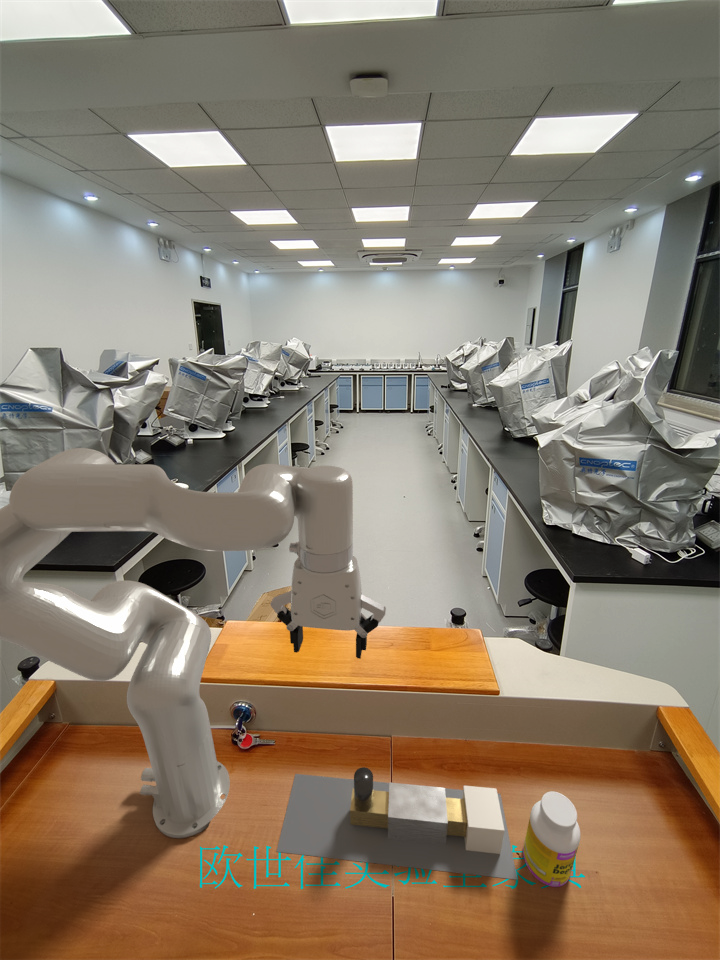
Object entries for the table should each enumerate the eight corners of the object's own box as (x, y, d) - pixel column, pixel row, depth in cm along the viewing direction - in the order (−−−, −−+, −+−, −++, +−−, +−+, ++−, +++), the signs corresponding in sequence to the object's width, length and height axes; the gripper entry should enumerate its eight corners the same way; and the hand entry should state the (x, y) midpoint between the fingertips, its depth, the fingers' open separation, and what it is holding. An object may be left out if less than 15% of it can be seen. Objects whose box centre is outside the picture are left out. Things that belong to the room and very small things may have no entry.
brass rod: (350, 824, 68) (349, 786, 65) (353, 801, 71) (352, 764, 68) (491, 839, 66) (497, 801, 62) (487, 815, 69) (492, 778, 66)
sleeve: (387, 838, 67) (388, 817, 65) (389, 803, 71) (389, 782, 70) (445, 844, 66) (447, 823, 64) (443, 808, 71) (444, 787, 69)
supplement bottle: (548, 902, 60) (562, 845, 56) (512, 853, 66) (523, 798, 61) (579, 875, 63) (595, 818, 58) (543, 830, 68) (555, 776, 64)
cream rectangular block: (465, 850, 65) (468, 826, 63) (461, 808, 71) (463, 785, 69) (500, 853, 65) (504, 830, 63) (493, 811, 70) (496, 788, 68)
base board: (277, 856, 66) (276, 851, 65) (295, 778, 77) (295, 773, 76) (516, 884, 62) (517, 879, 62) (499, 798, 73) (500, 793, 73)
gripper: (258, 562, 57) (267, 661, 63) (385, 572, 55) (382, 673, 61) (275, 536, 64) (282, 628, 70) (388, 544, 62) (385, 637, 68)
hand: (328, 649), depth 66 cm, fingers open, 9 cm apart
